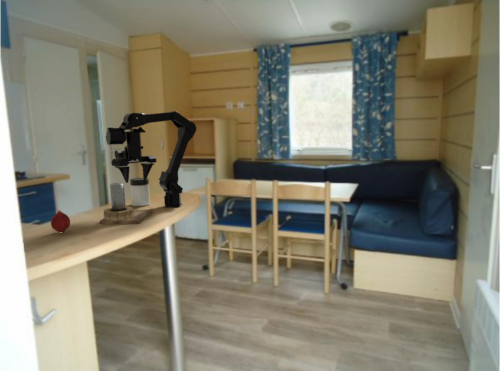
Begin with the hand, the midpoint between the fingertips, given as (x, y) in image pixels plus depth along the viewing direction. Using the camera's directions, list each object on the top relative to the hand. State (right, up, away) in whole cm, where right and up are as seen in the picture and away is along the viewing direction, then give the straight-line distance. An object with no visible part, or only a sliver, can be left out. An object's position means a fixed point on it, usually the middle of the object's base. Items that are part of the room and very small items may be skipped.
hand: (136, 181), depth 149 cm
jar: (-3, -11, +16) cm, 20 cm away
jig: (-1, -15, -8) cm, 17 cm away
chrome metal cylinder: (-3, -14, -12) cm, 19 cm away
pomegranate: (-17, -18, -27) cm, 37 cm away
